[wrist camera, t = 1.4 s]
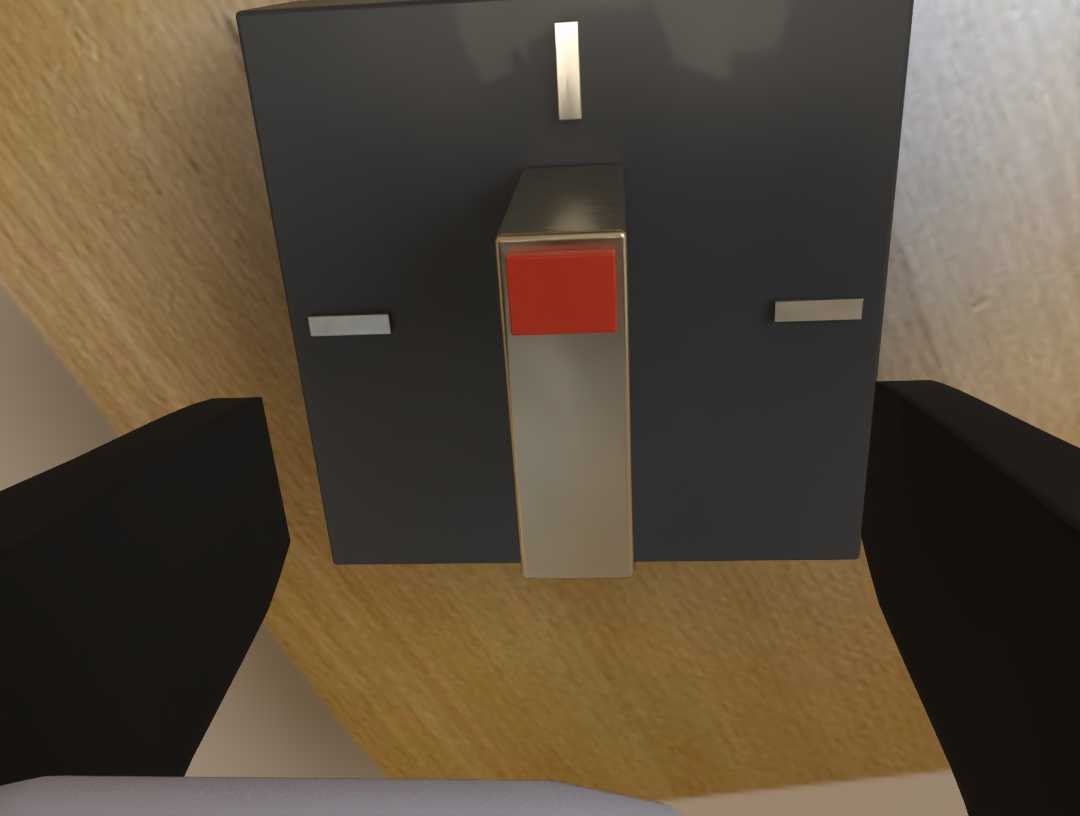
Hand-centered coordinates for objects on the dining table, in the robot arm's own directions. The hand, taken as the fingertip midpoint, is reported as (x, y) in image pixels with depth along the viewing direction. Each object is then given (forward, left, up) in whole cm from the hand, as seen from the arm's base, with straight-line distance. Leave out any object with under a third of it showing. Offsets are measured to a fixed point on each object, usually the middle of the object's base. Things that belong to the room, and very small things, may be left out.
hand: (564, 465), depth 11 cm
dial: (0, 0, -5) cm, 5 cm away
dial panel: (0, 0, -8) cm, 8 cm away
